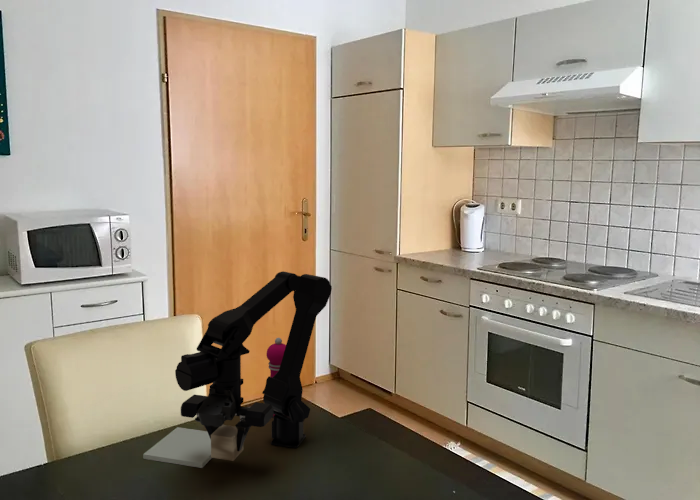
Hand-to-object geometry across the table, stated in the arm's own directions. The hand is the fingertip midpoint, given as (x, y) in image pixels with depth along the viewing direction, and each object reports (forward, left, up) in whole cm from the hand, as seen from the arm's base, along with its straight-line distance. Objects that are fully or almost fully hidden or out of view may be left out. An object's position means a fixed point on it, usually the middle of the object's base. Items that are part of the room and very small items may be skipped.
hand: (227, 448), depth 126 cm
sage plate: (+12, -5, -4) cm, 14 cm away
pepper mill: (0, -29, -4) cm, 29 cm away
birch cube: (0, 0, -1) cm, 1 cm away
